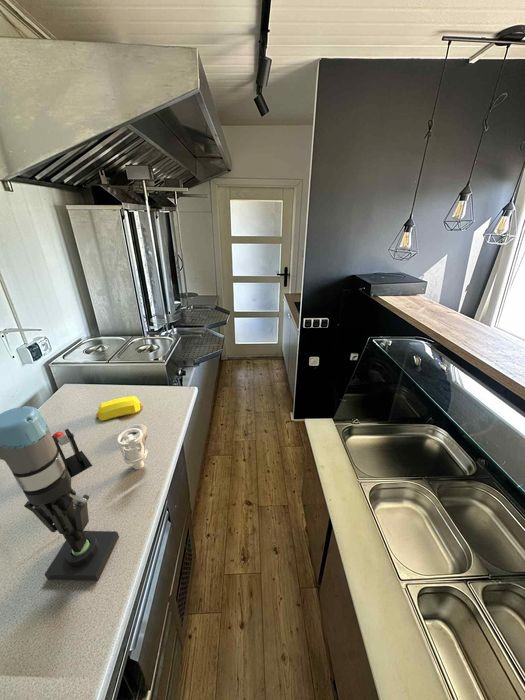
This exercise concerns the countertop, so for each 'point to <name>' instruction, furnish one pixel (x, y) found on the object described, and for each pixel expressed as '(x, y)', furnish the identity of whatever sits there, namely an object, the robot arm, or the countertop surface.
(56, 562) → the black base plate
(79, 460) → the bracket
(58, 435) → the lever
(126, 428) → the donut
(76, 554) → the button
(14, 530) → the countertop surface
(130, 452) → the white tall carved piece
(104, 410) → the yellow bar
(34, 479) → the robot arm
